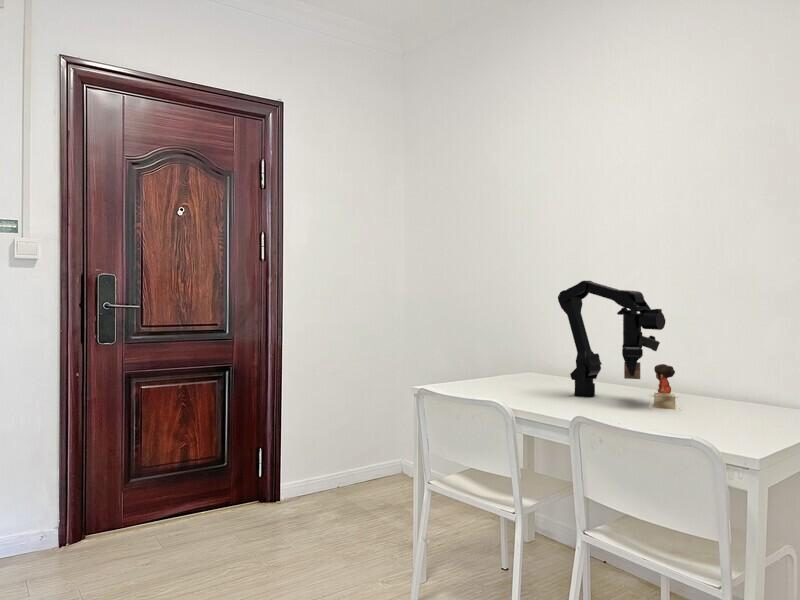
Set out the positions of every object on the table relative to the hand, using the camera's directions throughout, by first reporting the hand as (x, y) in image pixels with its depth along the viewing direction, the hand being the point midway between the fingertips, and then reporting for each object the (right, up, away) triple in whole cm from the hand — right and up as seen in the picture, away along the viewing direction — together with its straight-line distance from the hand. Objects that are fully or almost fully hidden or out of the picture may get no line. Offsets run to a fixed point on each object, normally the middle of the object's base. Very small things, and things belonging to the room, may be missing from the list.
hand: (632, 374), depth 204 cm
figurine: (+16, -10, +12) cm, 23 cm away
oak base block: (+8, -10, -7) cm, 14 cm away
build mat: (+4, -10, -4) cm, 11 cm away
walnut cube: (0, -1, 0) cm, 1 cm away
